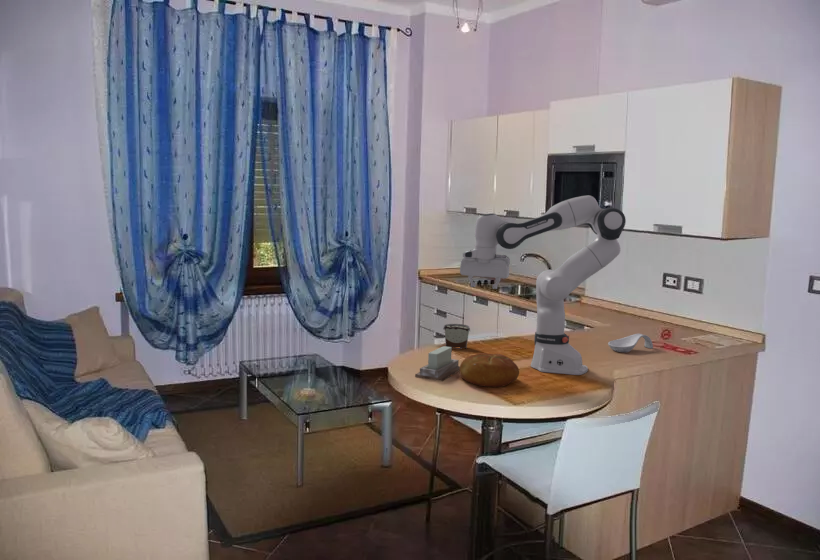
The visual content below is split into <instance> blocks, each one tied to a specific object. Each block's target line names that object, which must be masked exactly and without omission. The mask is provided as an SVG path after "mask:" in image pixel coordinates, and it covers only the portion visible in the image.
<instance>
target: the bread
mask: <svg viewBox="0 0 820 560" xmlns="http://www.w3.org/2000/svg"><path fill="white" fill-rule="evenodd" d="M459 366H460V371H459V374H460V376H461V378H462V379H463V380H465V381H466V382H468V383H470V384H473V385H477V386H480V387H489V388H491V387H493V388H499V387H505V386H508V385H509V384H510V383H513V382H515V381H516V380H517V379H518V377H519V376H520V369H519V366H518V365H517V364H516V362H514V361H513V359H511V358H509V357H508V356H506V355H503V354H501V353H487V352H486V353H482V352H481V353H476V354H473V355H470V356H467V357H466V358H464V359H463V360H462V361H461V363H460V365H459Z"/></svg>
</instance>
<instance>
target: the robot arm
mask: <svg viewBox="0 0 820 560" xmlns="http://www.w3.org/2000/svg"><path fill="white" fill-rule="evenodd" d="M626 219H627V218H626V216H625V214H624V212H623V211H622V210H620V209H619V208H616V207H607V208H601V207H600V205H599V203H598V201H597V200H596V198H595V197H594V196H592V195H587V194H586V195H581V196H580V195H579V196H576V197H572V198H568V199H565V200H562V201H560V202H558V203H555V204H554V205H553V206H551V207H549V209H548V210H547V211H546V212H545V213H544V214H542V215H540V216H539V217H535V218H533V219H530V220H528V221H524V222H520V223H514V222H510V221H508V220H505V219H503V218H502V217H500V216H499V215H497V214H496V213H486V214H480V216H478V217H477V218H476V221H475V227H474V237H475V242H474V247H473V249H470V250H468V251H464V252H463V253H462V257H463V258H462V259H461V261H460V265H459V266H460V267H459V273H460V275H461V276H467V278H468V280H469V283H470V288H475V287H476V283H477V282H474V280H473V279H474V277H482V278H492V279H493V278H495V279H494V280H495V281H496V282H495V283H494V284H492V289H493V290H497V289H498V285H499V283H500V282H501V279H508V278H509V277H510V262H511V261H510V257H509V256H507V255H506V254H505V255H504V254H503V255H502V254H497V245H499V246H500V247H501V248H503V249H506V250H513V249H515V248H517V247H519V246H520V245H521V244H522V243H524V241H526V240H527V239H530V238H532V237H536V236H538V235H540V234H543V233H544V234H545V233H547V232H551V231H553V232H554V231H562V230H567V229H570V228H574V227H577V226H580V225H583V224H587V225H588V226H589V227H590V229H591V230H592V232H593V233H594V234H595V235H596V237H595V238H594V239H593V240H592V241H591V242H590V243H588V244H586V245H585V246H583V247H582V248H581V249H579V250H578V251H576V252H574V253H573V254H571V255H570V256H569V257H568V258H567V259H566V260H565V261H564V262H563V263H561V264H560V265H559V266H558V267H557V268H556V269H544V271H541V272H540V273H539V274H538V275H537V277H536V281H535V285H536V286H535V291H536V293H535V294H536V296H535V298H536V330H535V332H534V341H533V342H534V351H533V357H532V359H531V362H530V367H531V368H533V369H536V370H538V371H539V372H541V373H551V374H561V375H562V374H563V375H564V374H565V375H573V376H574V375H575V376H580V375H584V374H586V373H587V372H588V371H589V370H588V369H589V367H588V366H587V365H583V359H582V358H583V357H582V354H581V353H580V352H579V351H578V350H577V349H575V347H574V346H572V345H571V344H570V343H569V342H570V334H566V333H565V323H566V312H565V301H564V300H565V299H566V298H567V297H568V296H569V295H570V294H571V293H573V291H575V290H576V289H577V288H578V287H579V286H580V285H582V284H583V283H584V282H585V281H586V280H587V279H590V278H591V277H592V276H593V275H595V274H597V273H598V272H599V271H601V270H602V269H604V268H605V267H607V266H608V265H609V264H610V263H612V262H613V261H614V260H615V259H616V258H617V257H618V256H619V255H620V253H621V245H620V243H619V241H618V239H619V238H620V237H621V236H622V232H624V231H623V230H624V228H625V226H626V222H627V221H626Z"/></svg>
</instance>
